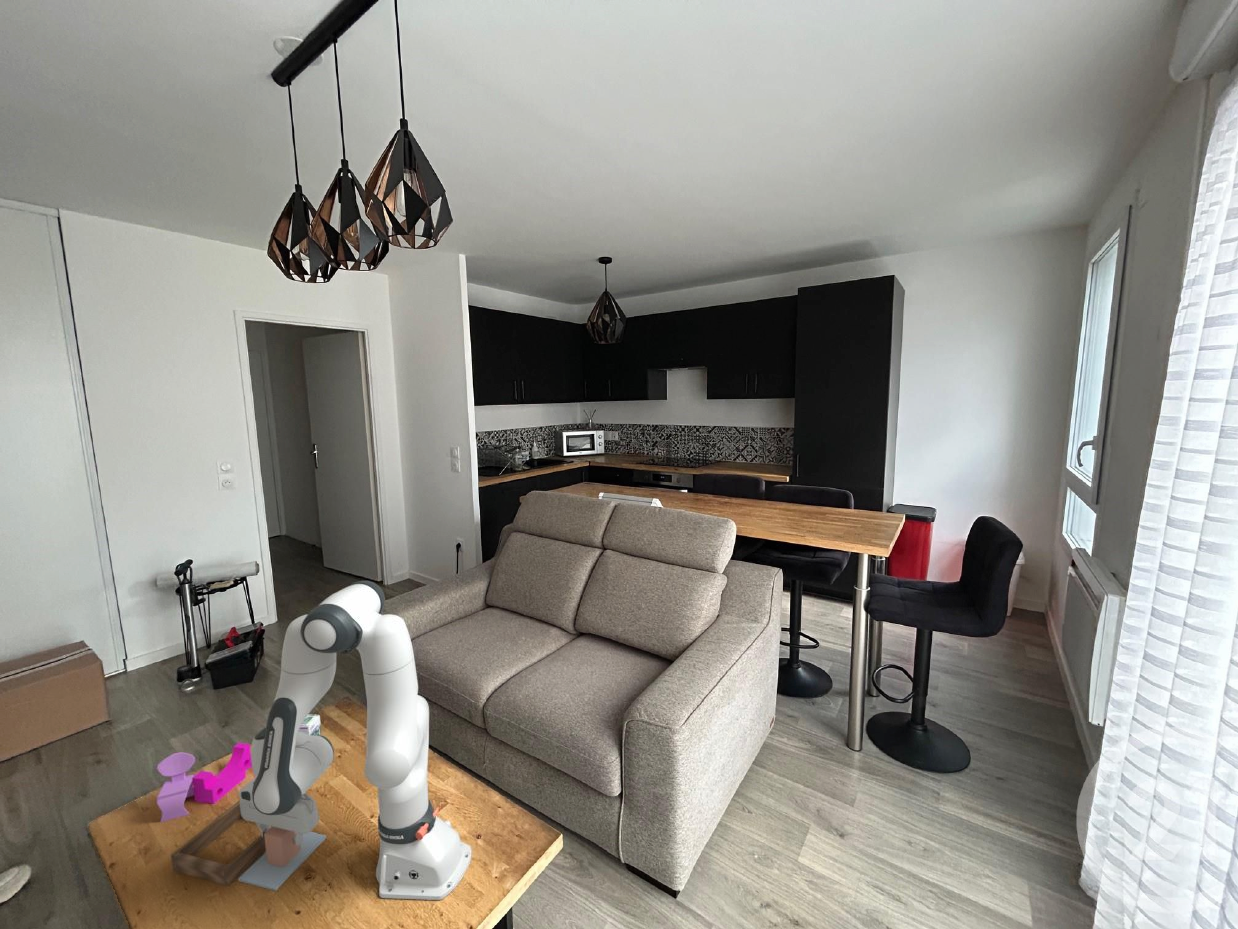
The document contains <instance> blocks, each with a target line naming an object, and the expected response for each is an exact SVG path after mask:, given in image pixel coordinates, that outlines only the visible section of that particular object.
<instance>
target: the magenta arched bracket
mask: <svg viewBox="0 0 1238 929" xmlns="http://www.w3.org/2000/svg"><path fill="white" fill-rule="evenodd" d="M249 768H252V761H251V746H250V743H243V742H238V743H237V744H235V745H234V746H233V747H232V754H231V756H230V759H229V761H228V763H227V764H226V765H225V767H224V768H223V769H221V771H220V772H219V773H217V774H215V775H214V773H213V772H212V771H203V770H200V771H199V772H198V773H197V774H194V777H193V778H192V780H193V788H194V801H195V802H198V803H205V804H212V805H213V804H215V803H217V802H218V801H219V800H220V799H221V798H223V797H224V796H225V795H226V794H228V793H229V792H230V791H231V790H233V789H234V788H235V787H236V786H238V785H239V784H240V783H241V782H242V781H243V780H245V779H246V776H247V775H246V771H247V770H248V769H249Z"/></svg>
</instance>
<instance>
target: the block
mask: <svg viewBox="0 0 1238 929" xmlns="http://www.w3.org/2000/svg"><path fill="white" fill-rule="evenodd" d="M294 836H296V834H295V832H294V831H290V830H285V829H281V828H277V827H273V826H272V827H271V828H270V829H269V830H268V831H267V832H266V833H265V834H264V837H265V846H266V851H265V852H266V856H267V863H269V864H273V865H277V866H281V867H285V866H286V865H287V864H288V863H289V862H290V861H291V859H292V858H293V857H294V856H295V855H296V854H297V853H298V852H299V851H300V850H301V844H299V845H295V844H293V841H292V838H293V837H294Z"/></svg>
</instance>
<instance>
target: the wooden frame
mask: <svg viewBox="0 0 1238 929" xmlns="http://www.w3.org/2000/svg"><path fill="white" fill-rule="evenodd" d="M241 818H243V817H242V816H241V811H240V799H239V800H238V801H237V802H235V803H234V804H233V805H232V806H230V807H229V808H228V809H227V810H226V811H224V812H223V813H222V814H220V815H219V816H218V817H216V819H214V820H213V821H212V822H210V823H209V824H208V825H207V826H205V827H204V828H203V829H202V830H200V831H199V832H198V833H197V834H196V835H194V836H193V837H192V838H191V839H189V840H188V841H186V843H184V844H183V845H182V846H180V847H179V848H178V849H177V850H175V851H174V852H173V853H171V855H170V857H171V865H172V871H173V872H176V873H181V874H184V875H187V874H189V875H188V876H192V877H195V878H199V879H203V880H206V881H210V882H212V883H213V882H214V883H217V884H220V885H225V886H227V887H228V886H230V885H231V884H232V883H233V882H234V881H235V880H237V879H238V878H239V877H240V876H241V875H242V874H243V873H244V872H245V871H247V870H248V869H249V868H250V867H251V866H252V865H253V864H254V863H255V862H256V861H257V860H258V859H259V858H260V857H261V856H262V855H263V854H264V853H265V852H266V846H265V837H262V836H261V834H260V835H259V836H258V837H257V838H256V839H254V840H253V841H252V842H251V843H250V844H249V845H248V846H247V847H245V849H243V850H242V851H241V852H240V853H239V854H238V855H237V856H236V857H235V858H233V859H232V860H231V861H230V862H229V863H228V864H225V863H221V862H218V861H213V860H209V859H207V858H206V859H205V858H202V857H198V856H197V855H198V854H199V853H201V852H202V851H203V850H204V849H205V848H207V847H208V846H209V845H210V844H211V843H213V842H214V841H215V840H216V839H217V838H218V837H220V836H221V835H222V834H223V833H225V832H226V831H227V830H228V829H229V828H231V827H233V825H234V824H236V823H237V822H238V821H239V820H240V819H241ZM271 827H272V826H271Z"/></svg>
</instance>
